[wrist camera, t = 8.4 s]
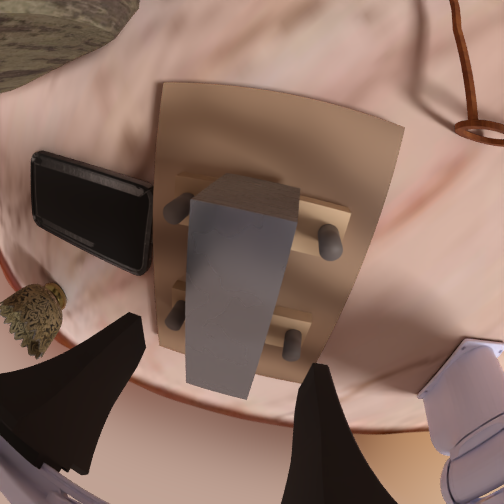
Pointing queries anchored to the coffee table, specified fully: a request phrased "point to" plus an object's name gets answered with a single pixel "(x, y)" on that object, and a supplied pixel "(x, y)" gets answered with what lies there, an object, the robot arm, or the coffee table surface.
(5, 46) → the tabletop clock
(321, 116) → the peg rack
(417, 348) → the coffee table surface
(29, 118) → the coffee table surface
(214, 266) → the metal bar
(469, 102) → the glasses
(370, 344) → the coffee table surface
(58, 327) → the cup
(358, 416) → the coffee table surface
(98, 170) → the phone
